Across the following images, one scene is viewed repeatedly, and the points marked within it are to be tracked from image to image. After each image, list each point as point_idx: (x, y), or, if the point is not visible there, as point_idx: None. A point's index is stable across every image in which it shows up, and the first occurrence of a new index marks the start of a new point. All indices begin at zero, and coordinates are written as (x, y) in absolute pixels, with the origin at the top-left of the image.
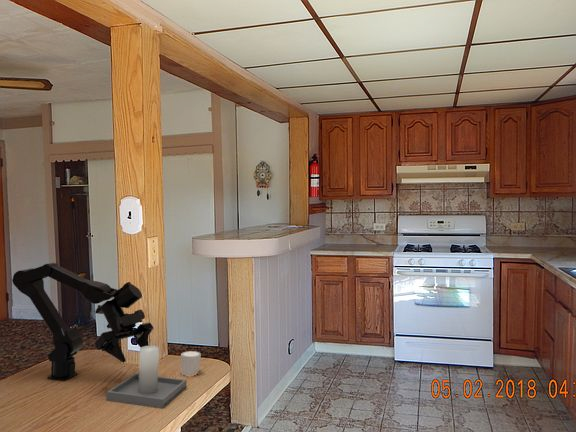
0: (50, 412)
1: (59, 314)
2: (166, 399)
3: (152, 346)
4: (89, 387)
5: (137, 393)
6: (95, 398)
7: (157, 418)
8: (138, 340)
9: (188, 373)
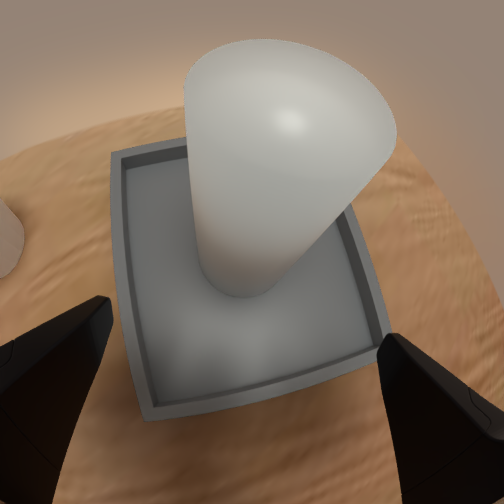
0: (481, 394)
1: None
2: None
3: (222, 93)
4: (319, 500)
5: (294, 271)
6: None
7: None
8: (31, 497)
9: (17, 227)
